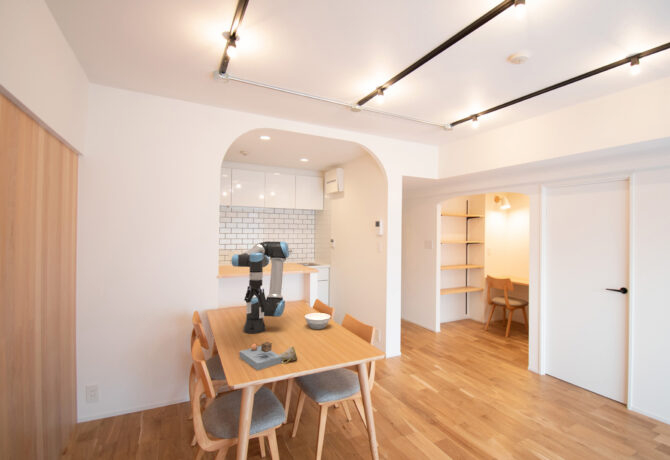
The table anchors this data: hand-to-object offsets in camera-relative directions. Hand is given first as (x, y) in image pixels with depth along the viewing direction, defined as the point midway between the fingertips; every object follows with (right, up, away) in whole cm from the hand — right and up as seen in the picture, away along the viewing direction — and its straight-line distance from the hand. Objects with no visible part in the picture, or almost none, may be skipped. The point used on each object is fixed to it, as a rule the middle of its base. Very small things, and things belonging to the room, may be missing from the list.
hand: (255, 315), depth 180 cm
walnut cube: (+8, -18, -7) cm, 21 cm away
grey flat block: (+6, -21, -12) cm, 25 cm away
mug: (+21, -22, -11) cm, 32 cm away
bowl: (+34, -23, +50) cm, 64 cm away
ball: (+1, -16, -6) cm, 17 cm away
